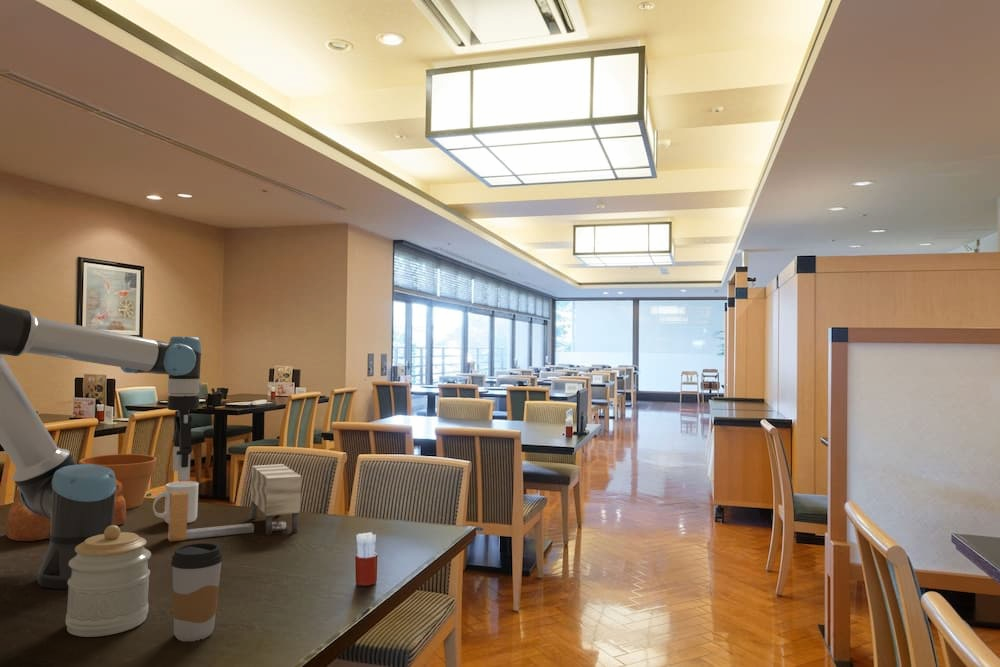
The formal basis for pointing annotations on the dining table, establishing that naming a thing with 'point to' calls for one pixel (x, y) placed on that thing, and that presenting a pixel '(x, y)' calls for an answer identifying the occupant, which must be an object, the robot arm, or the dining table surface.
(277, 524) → the token
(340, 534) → the dining table surface
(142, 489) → the flower pot
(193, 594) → the coffee cup
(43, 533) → the bread
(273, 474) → the cabinet
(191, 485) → the mug
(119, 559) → the jar
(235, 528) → the grey l-shaped rod
